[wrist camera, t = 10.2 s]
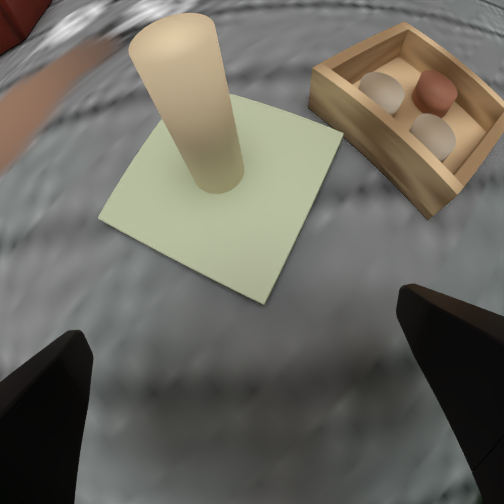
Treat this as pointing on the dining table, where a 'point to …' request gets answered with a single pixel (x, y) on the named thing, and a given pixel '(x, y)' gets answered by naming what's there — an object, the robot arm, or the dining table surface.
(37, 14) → the plant pot
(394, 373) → the dining table surface
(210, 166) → the beige peg on base
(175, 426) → the dining table surface
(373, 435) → the dining table surface
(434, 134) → the oak box
